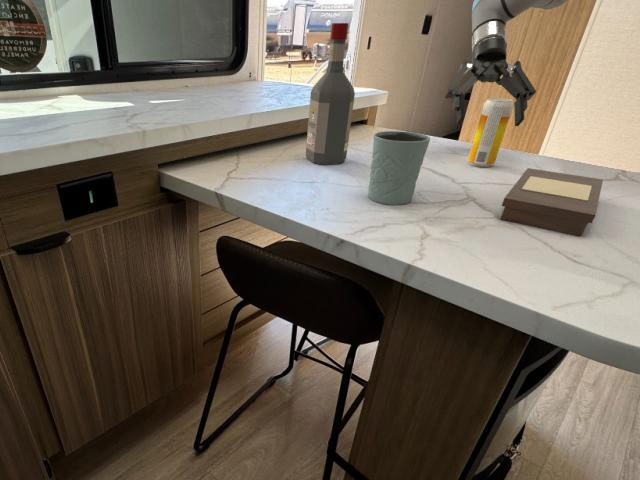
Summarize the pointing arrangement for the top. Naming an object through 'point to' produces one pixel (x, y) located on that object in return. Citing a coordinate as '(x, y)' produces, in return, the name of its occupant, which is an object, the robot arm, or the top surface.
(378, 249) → the top surface
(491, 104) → the beer can
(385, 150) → the green embossed cup
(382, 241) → the top surface
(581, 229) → the brown lidded keepsake box
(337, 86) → the liquor
